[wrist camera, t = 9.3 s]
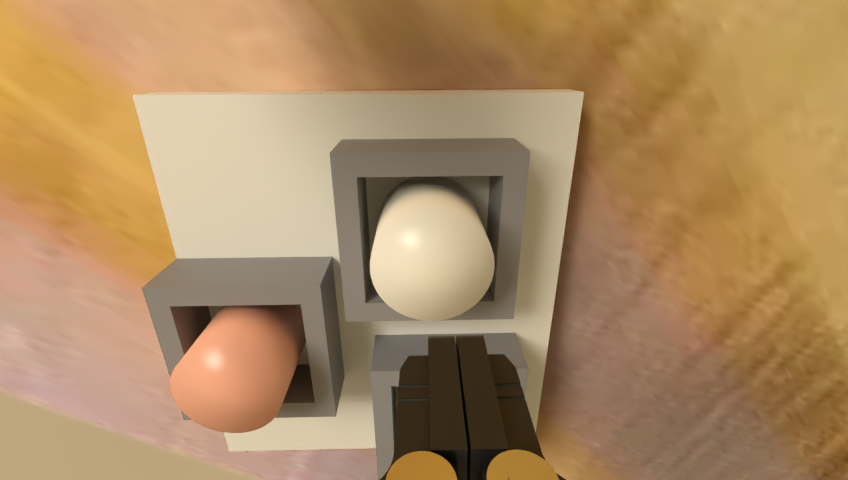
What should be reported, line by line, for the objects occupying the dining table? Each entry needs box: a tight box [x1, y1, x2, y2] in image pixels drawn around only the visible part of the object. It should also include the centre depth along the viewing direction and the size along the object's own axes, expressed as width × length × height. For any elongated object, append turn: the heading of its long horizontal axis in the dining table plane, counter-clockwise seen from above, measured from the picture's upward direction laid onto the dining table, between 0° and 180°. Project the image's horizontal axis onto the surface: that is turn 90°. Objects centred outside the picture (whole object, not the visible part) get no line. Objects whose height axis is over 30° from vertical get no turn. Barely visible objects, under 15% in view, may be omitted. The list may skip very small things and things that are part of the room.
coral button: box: [170, 305, 306, 433], centre depth 20 cm, size 5×5×5 cm
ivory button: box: [370, 176, 494, 321], centre depth 18 cm, size 5×5×5 cm
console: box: [132, 89, 584, 480], centre depth 22 cm, size 20×22×5 cm
